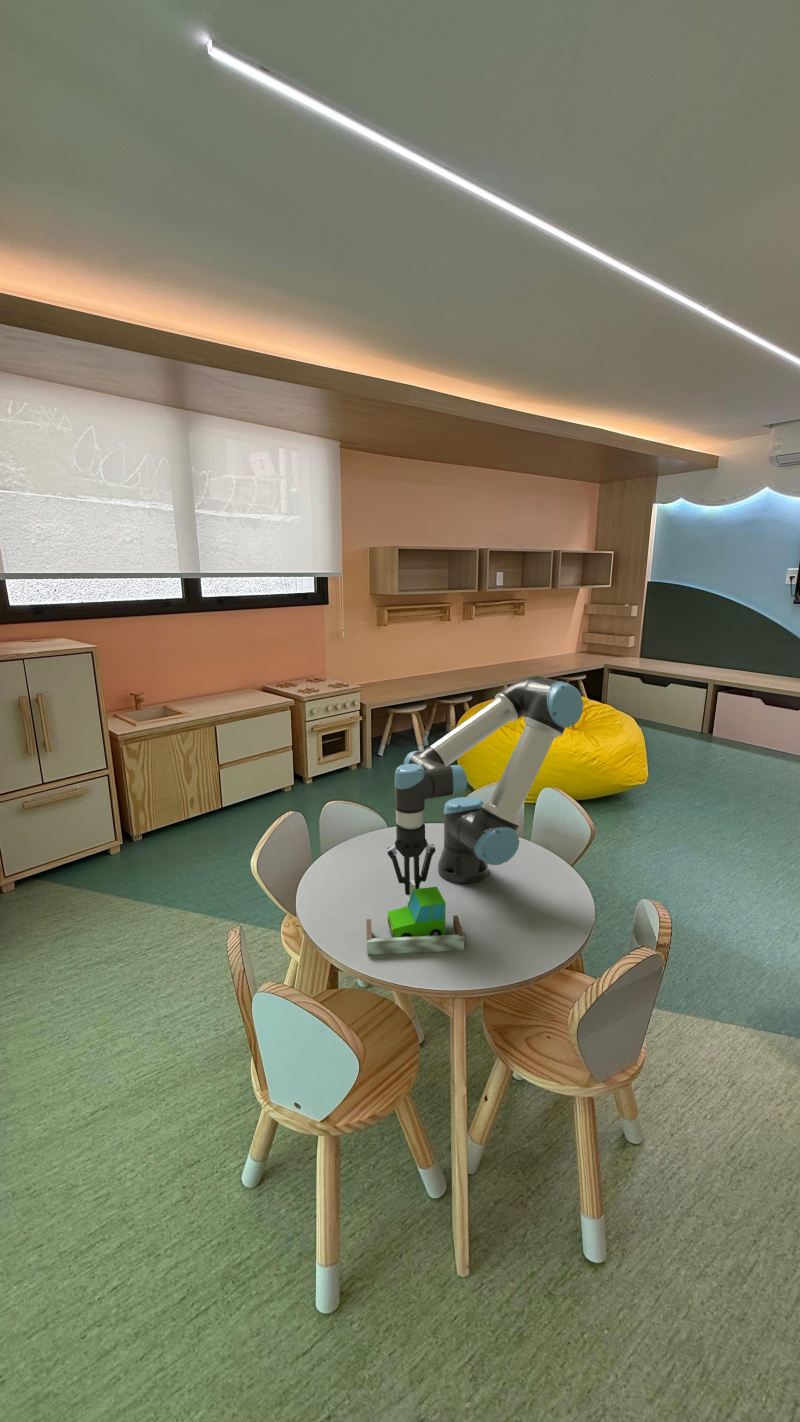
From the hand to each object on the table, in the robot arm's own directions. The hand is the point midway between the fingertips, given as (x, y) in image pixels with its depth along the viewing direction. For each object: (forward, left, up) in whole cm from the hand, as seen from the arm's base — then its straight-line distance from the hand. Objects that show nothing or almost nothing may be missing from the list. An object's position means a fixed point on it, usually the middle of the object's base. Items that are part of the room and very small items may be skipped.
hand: (412, 904), depth 164 cm
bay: (+1, +13, -2) cm, 13 cm away
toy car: (0, +10, -2) cm, 10 cm away
